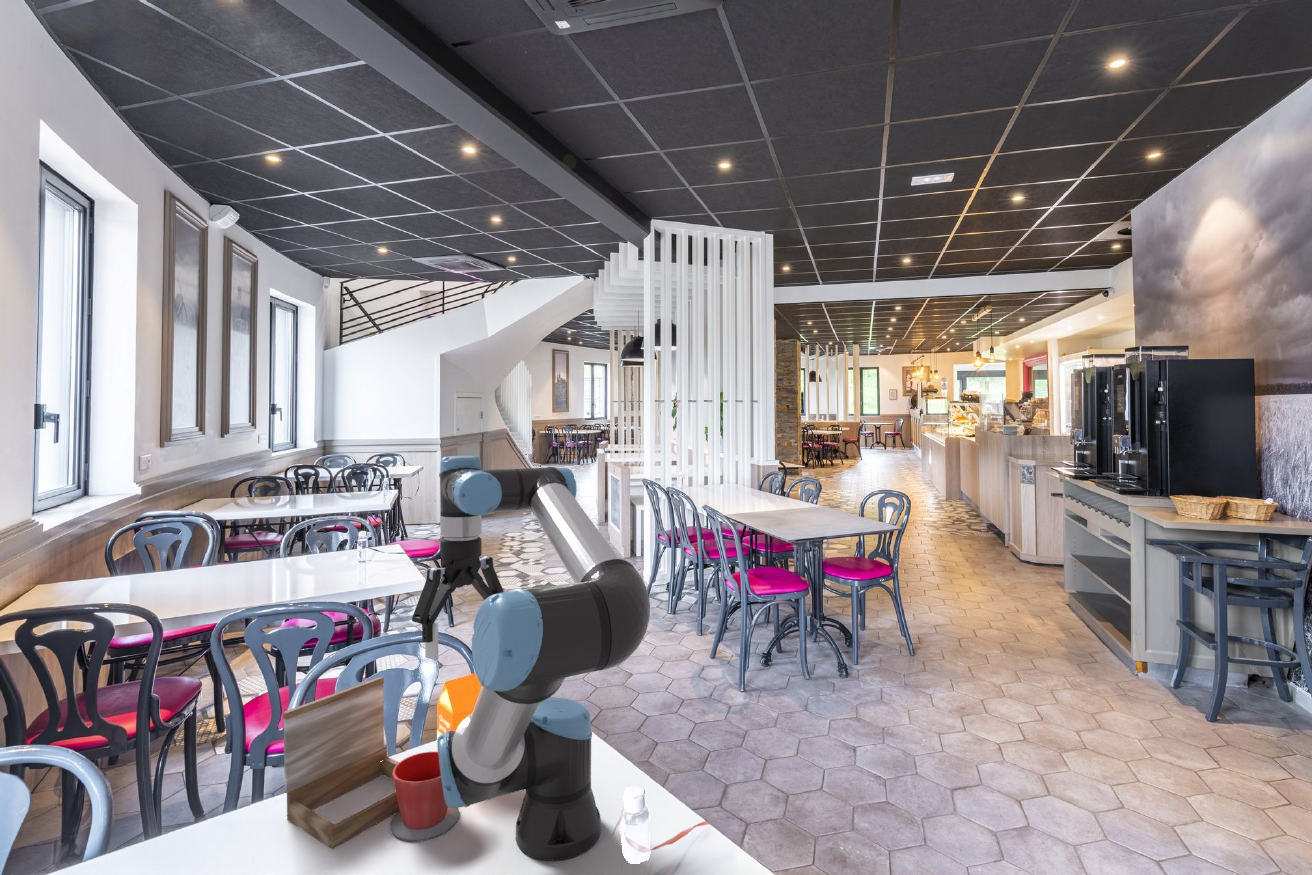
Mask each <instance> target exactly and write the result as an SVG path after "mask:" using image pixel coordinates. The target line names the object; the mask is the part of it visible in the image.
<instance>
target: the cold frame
mask: <svg viewBox="0 0 1312 875" xmlns="http://www.w3.org/2000/svg"><path fill="white" fill-rule="evenodd" d="M384 679H385V678H384V677H382V676H379V677H376V678H374V679H371V680H367V681H366V682H362V683H359V684H357V685H354V686H351V687H349V688H345V689H343V690H340V691H338V692H335V693H333V694H329V695H326V696H323V697H320V698H318V699H316V700H313V701H311V702H307V703H305V704H302V705H299V706H296V707H294V708H290V709H288V710H286V711H283V712H282V714H283V715H282V716H283V760H284V761H283V764H284V765H283V770H284V771H283V772H284V774H283V776H284V778H283V779H284V792H285V793H286V820H287V821H288V822H289V823H291V824H293V825H294V826H295V827H298V828H299V829H300V830H302V831H304V833H306V834H308V835H310V836H311V837H313V838H315V840H317V841H319V842H321V843H322V844H323V845H325V846H327V847H328V848H330V849H331V850H334V849H336V848H337V847H339V846H341V845H343V844H344V843H347V842H349V841H350V840H352V839H353V838H355V837H356V836H359V835H360V834H362V833H365V831H367V830H369V829H372V827H373V828H374V826H377V825H378V824H380V823H381V822H383V821H385V820H387V819H389V818H391V817H392V816H394V815H395V814H396V813H397V812H398V811H400V809H399V804H398V800H397V795H396V791H395V792H393V793H390V794H389V795H387V796H385V797H383V798H381V799H380V800H378V801H376V802H374V803H372V804H370V805H368V806H366V807H364V808H362V809H361V810H359V811H357V812H355V813H354V814H352V815H350V816H347V817H345V818H343V819H342V820H340V821H339V822H336V823H335V824H334V823H333V822H331V821H330V820H328V819H326V818H325V817H323V816H321V815H320V814H318V813H316V812H315V811H314V810H316V809H319V808H320V807H322V806H324V805H326V804H328V803H330V802H332V801H334V800H336V799H338V798H339V797H342V796H343V795H346V794H348V793H350V792H352V791H354V790H356V789H357V788H359V787H362V786H364V785H366V784H367V783H369V782H371V781H374V780H375V779H377V778H380V777H382V776H383V777H386V778H388V779H390V780H393V769H394V767H395V766H396V765H397V764H398V763H399V762H400V761H397V760H396V759H393V758H391V757H389V756H388V749H387V748H385V722H384V721H385V716H384V712H385V708H384V706H385V704H384V702H385V701H384V700H385V699H384V681H385V680H384ZM382 760H383V761H382ZM380 761H382V762H380ZM393 781H394V780H393Z"/></svg>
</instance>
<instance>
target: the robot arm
mask: <svg viewBox="0 0 1312 875" xmlns="http://www.w3.org/2000/svg"><path fill="white" fill-rule="evenodd" d="M439 468H440V469H439V473H438V477H439V485H440V486H439V490H440V492H439V494H440V499H439V501H440V503H439V504H440V506H439V507H440V516H439V517H440V518H439V519H440V522H439V523H440V530H439V531H440V536H441V537H442V539H440V546H439V548H440V558H441V561H442V564H441V567H437V568H435V567H429V568H427V570H426V580H425V583H424V585H423V588H422V591H421V594H420V596H419V598H418V601H417V604H416V607H415V610H414V612H413V615H412V617H411V621H412V622H413V623H417V624H421V629H422V630H421V632H422V634H421V636H422V638H421V639H422V641H423V642H424V645H425V646H424V647H425V652H424V654H425V656H424V657H425V658H427V659H429V660H432V661H438V660H439V623H437V622H436V620H437V618H438V617H439V615H440V613H441V611H442V610H443V608H444V607H445V605H446V603H447V601H448V599H449V598H450V596H451V594H452V593H454V592H455V591H456V589H459V588H462V587H465V586H470V585H471V586H472V587H473V588H474V589H475V590H476V592H477V593H478V594H479V595H480V596H481V598H482V599H483V601H482V603H481V604H480V606H479V608H478V609H477V611H476V613H475V618H474V622H473V627H472V628H473V634H472V635H471V636H472V637H471V638H472V639H471V655H472V664H473V669H474V672H475V673H476V676H477V678H478V680H479V682H480V683H481V685H482V688H481V690H480V693H479V696H478V699H477V701H476V704H475V707H474V709H473V712H472V714H471V715H469V716H468V717H466V718H465V719H464V720H463V721H462V722H461V723H460V725H459V726H458V728H457V730H455V731H453V730H451V731H450V730H449V731H448V732H446V733H443V734H441V735H440V736H439V737H438V740H437V739H436V742H437V744H436V746H437V745H438V756H439V765H440V773H441V780H442V787H443V794H444V799H445V803H446V805H447V806H448V807H449V808H458V809H459V808H468V807H470V806H471V805H473V804H477V803H481V802H486V801H488V800H491V799H496V798H499V797H502V796H506V795H510V794H513V793H516V792H520V791H525V794H524V796H523V800H522V803H521V806H520V809H519V813H518V816H517V819H516V823H515V841H516V844H517V846H518V849H520V850H521V851H522V852H523V853H524V854H526V855H527V856H530V857H531V858H535V859H538V860H544V861H562V860H568V859H572V858H574V857H576V856H579V855H582V854H583V853H585V852H587V851H588V850H590V849H592V848H593V846H594V845H595V844H596V843H597V842H598V840H599V838H600V836H601V831H602V825H601V824H602V822H601V821H602V820H601V813H600V810H599V809H598V807H597V805H596V804H597V803H596V799H595V796H594V793H593V790H592V737H593V731H592V726H591V716H590V712H589V710H588V709H587V708H586V707H585V706H584V705H583V704H581V703H579V702H578V701H575V700H572V699H569V698H565V697H564V698H563V697H555V696H554V697H552V696H553V695H555V694H556V692H557V691H559V689H560V688H561V686H562V684H563V683H564V681H565V679H566V678H569V677H575V676H578V675H583V674H588V673H593V672H594V673H595V672H597V671H605V670H608V669H611V668H615V667H617V666H619V665H621V664H622V663H623V662H625V661H626V660H628V659H629V658H630V657H631V656H632V655H633V654H634V653H635V651H636V650H637V649H638V648H639V647H640V645H641V643H642V641H643V640H644V637H645V636H646V632H647V630H648V626H649V622H650V615H651V602H650V596H649V592H648V589H647V585H646V584H645V580H644V579H643V577H642V576H641V575H640V573H639V572H638V570H637V569H636V568H635V567H634V565H633V563H631V562H630V561H629V560H626V559H624V558H621V557H618V555H617V554H616V553H615V551H614V550H613V548H612V547H611V546H610V544H609V543H608V542H607V540H606V539H605V538H604V536H603V535H602V534H601V532H600V531H599V529H598V528H597V527H596V526H595V523H593V521H592V520H591V519H590V517H589V516H588V515H587V513H586V512H585V510H584V509H583V508H582V506H581V505H580V504H579V502H578V501H577V499H576V497H577V488H578V487H577V482H576V479H575V474H574V472H573V471H572V470H571V469H570V468H568V467H556V466H547V467H533V468H532V467H528V468H500V469H499V468H498V469H497V468H496V469H494V468H493V469H482V463H481V458H480V457H479V456H475V455H450V456H449V455H448V456H443V458H441V460H440V465H439ZM522 510H525V511H526V510H531V512H532V513H533V515H534V516H535V518H536V520H537V521H538V523H539V524H540V527H541V528H542V530H543V532H544V534H545V535H546V537H547V538H548V540H549V542H550V544H551V545H552V547H553V548H554V550H555V552H556V554H557V555H558V557H559V559H560V560H561V562H562V564H563V565H564V567H565V569H566V570H567V573H568V574H569V576H570V577H571V579H572V581H573V582H572V583H565V584H558V585H556V584H555V585H549V586H542V587H534V588H526V589H525V588H524V589H523V588H513V589H509V590H507V591H504V589H503V586H502V584H501V582H500V579H499V577H498V575H497V572H496V570H495V568H494V558H493V557H491V556H487V555H482V553H483V552H482V548H483V546H482V543H483V542H482V537H480V535H482V532H483V531H482V530H483V529H482V527H483V526H482V516H485V515H489V514H490V513H492V512H505V511H506V512H509V511H522ZM480 570H481V573H482V575H483V577H482V576H481V574H480V572H479V571H480ZM484 579H485V581H484ZM485 582H486V583H485Z"/></svg>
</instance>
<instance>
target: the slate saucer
mask: <svg viewBox="0 0 1312 875" xmlns="http://www.w3.org/2000/svg"><path fill="white" fill-rule="evenodd" d="M392 816H393V817H392V818H391V820H390V823H389V826H390V829H389V830H390V833H391V835H392V836H393V837H394V838H396V839H398V840H399V841H403V842H408V843H409V842H412V843H413V842H414V843H415V842H416V843H417V842H424V841H429V840H432V839H436V838H437V837H440V836H442V835H444V834H446V833H447V832H449V831H450V830H451V829H452V828H454V826H455V825H456V824H457V822H458V820H459V818H460V810H459V808H449V807H448V809H447V814H446V816H445V818H444V819H443V820H442V821H441V822H440V823H438V824H437V825H435V826H433V827H428V828H426V829H418V830H417V829H410V828H408V827H406V826H405V825H404V824H403V821H402V817H401V813H400V811H398V812H397V813H396V814H394V815H392Z"/></svg>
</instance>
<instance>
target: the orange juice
mask: <svg viewBox="0 0 1312 875" xmlns="http://www.w3.org/2000/svg"><path fill="white" fill-rule="evenodd" d="M481 688H482V685H481V683H480V682H479V680H478V678H477V676H476V672H475V673H471V674H468V675H464V676H461V677H460V676H459V677H457V678H454V679H450V680H446V681H444V683H443V687H442V689H441V691H440V695H439V697H438V699H437V702H436V708H437V709H436V718H437V719H436V720H437V722H436V724H437V726H436V741H437V740H438V737H439V736H440V735H441V734H443V733H446V732H448V731H449V730H450V731H451V730H453V731H455V730H457V728H458V726H459V725H460V723H461V722H462V721H463V720H464V719H465V718H466V717H468V716H469V715H471V714H472V712H473V709H474V707H475V704H476V701H477V699H478V696H479V693H480V690H481ZM436 747H437V748H436V749H437V751H436V752H438V745H437V744H436Z"/></svg>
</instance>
